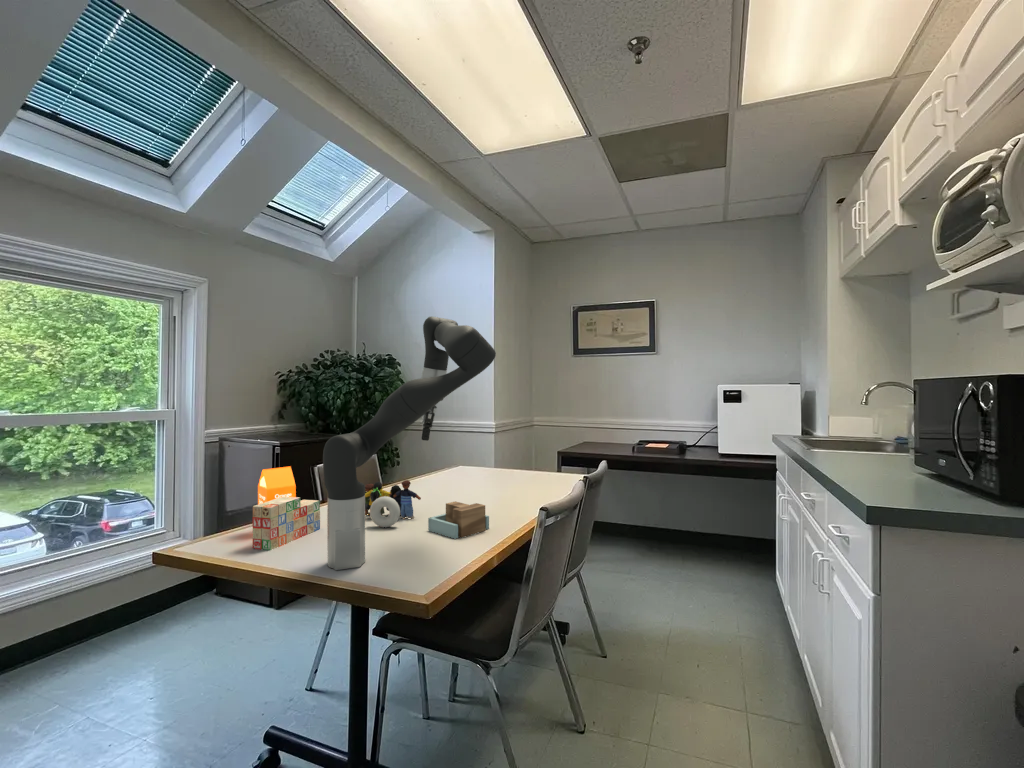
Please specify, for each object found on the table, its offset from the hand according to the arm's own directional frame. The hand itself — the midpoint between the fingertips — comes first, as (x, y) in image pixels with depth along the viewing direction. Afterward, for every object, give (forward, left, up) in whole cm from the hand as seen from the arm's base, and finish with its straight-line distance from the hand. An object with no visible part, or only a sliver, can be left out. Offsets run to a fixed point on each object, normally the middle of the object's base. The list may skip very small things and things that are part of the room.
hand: (424, 439), depth 149 cm
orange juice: (+24, +42, -30) cm, 56 cm away
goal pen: (+2, -11, -29) cm, 31 cm away
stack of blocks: (+14, +38, -30) cm, 50 cm away
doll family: (+27, +6, -30) cm, 40 cm away
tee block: (+1, -12, -29) cm, 32 cm away
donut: (+14, +10, -30) cm, 34 cm away
